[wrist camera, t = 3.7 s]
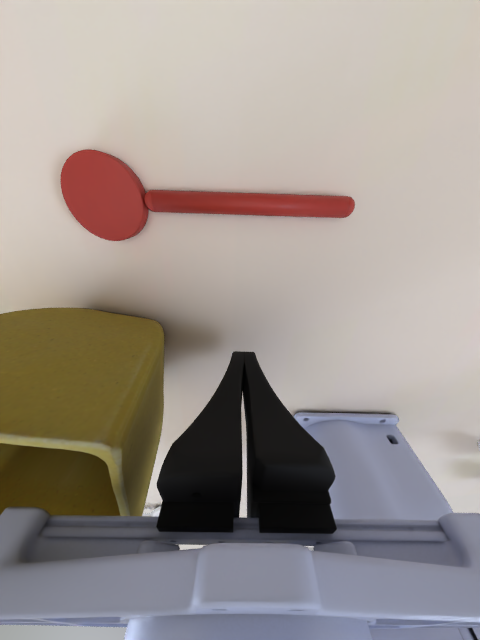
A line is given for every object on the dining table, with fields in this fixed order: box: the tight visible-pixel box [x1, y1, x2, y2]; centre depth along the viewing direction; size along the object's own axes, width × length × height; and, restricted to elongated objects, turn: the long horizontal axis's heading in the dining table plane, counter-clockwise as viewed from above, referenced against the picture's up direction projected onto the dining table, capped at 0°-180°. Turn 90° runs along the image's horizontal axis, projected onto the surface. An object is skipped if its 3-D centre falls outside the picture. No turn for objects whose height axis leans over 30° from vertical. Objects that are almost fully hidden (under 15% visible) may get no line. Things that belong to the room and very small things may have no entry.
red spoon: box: [61, 150, 355, 241], centre depth 10 cm, size 14×4×1 cm, turn 88°
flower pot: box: [0, 308, 165, 516], centre depth 11 cm, size 9×9×9 cm
